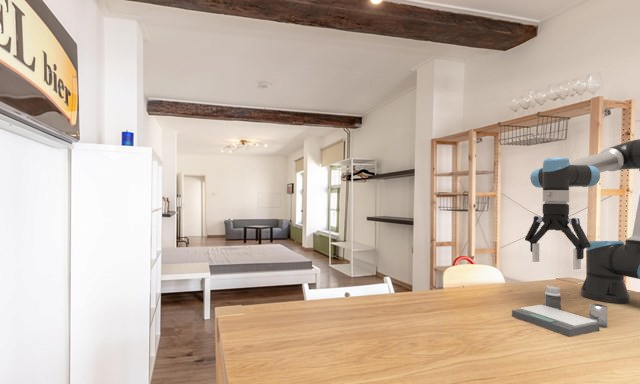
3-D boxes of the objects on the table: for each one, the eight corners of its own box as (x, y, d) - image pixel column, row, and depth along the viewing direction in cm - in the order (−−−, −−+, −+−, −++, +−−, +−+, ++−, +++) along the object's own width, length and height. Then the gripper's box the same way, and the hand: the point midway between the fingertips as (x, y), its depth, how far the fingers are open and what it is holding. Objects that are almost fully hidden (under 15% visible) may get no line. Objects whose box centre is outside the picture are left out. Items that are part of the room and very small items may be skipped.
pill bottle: (563, 314, 118) (563, 289, 118) (548, 312, 119) (548, 288, 119) (557, 309, 123) (557, 285, 123) (542, 308, 124) (542, 285, 124)
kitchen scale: (540, 311, 120) (540, 304, 120) (599, 330, 103) (599, 321, 103) (511, 316, 114) (512, 308, 114) (569, 336, 98) (569, 327, 98)
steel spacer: (594, 321, 111) (594, 302, 111) (610, 326, 107) (610, 306, 107) (586, 323, 109) (586, 304, 109) (601, 328, 105) (602, 308, 105)
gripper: (514, 202, 129) (514, 259, 128) (590, 203, 106) (589, 273, 106) (527, 202, 132) (527, 258, 132) (604, 203, 109) (603, 271, 109)
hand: (555, 265), depth 119 cm, fingers open, 13 cm apart
